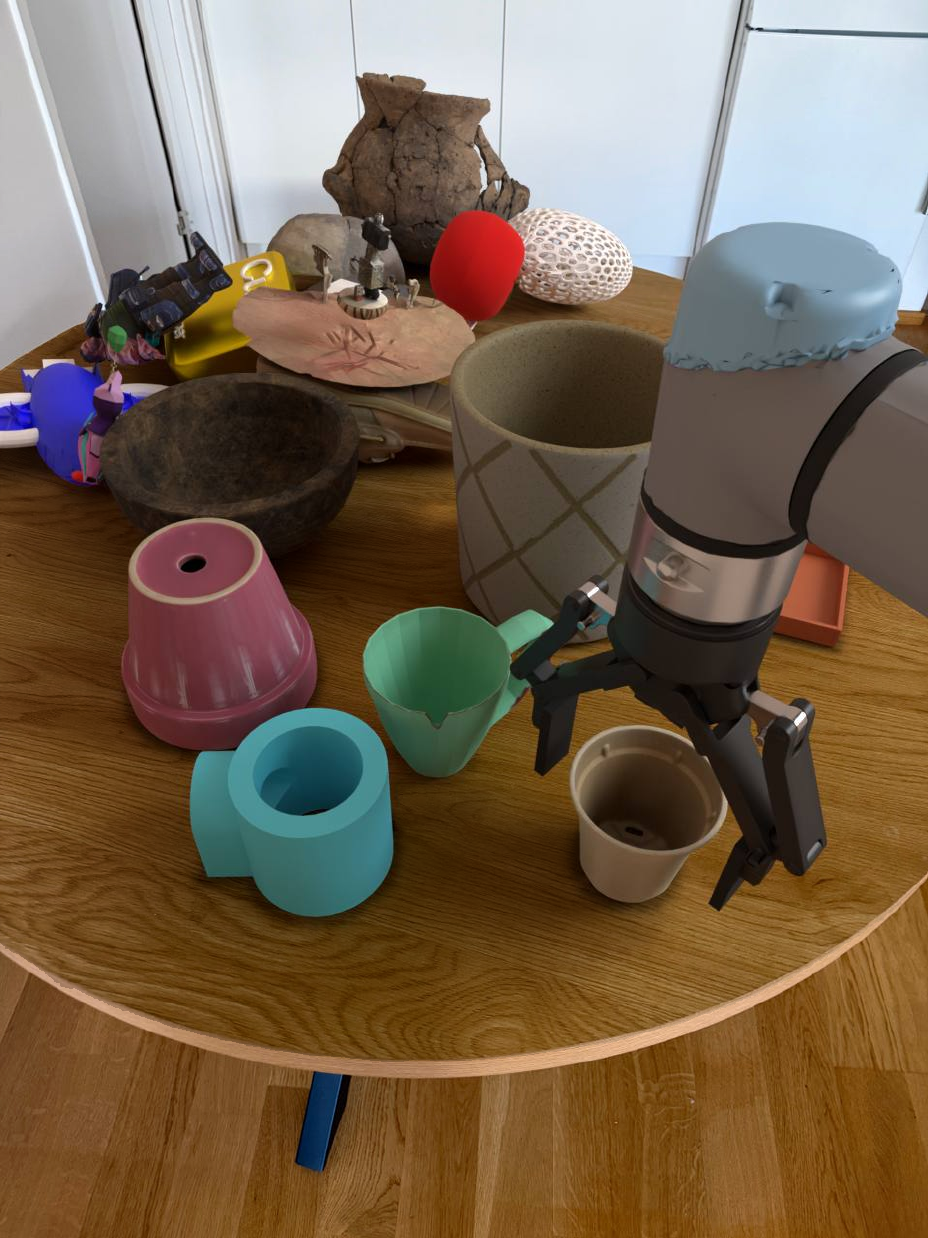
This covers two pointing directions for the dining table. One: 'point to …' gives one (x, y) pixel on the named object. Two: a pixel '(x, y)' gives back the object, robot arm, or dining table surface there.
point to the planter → (550, 460)
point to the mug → (445, 681)
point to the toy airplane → (58, 412)
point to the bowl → (235, 457)
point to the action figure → (152, 305)
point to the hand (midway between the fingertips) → (633, 824)
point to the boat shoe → (388, 413)
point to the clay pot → (419, 164)
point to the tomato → (476, 264)
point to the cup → (298, 811)
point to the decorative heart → (570, 258)
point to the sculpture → (355, 325)
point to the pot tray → (815, 599)
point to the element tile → (223, 323)
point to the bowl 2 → (329, 246)
